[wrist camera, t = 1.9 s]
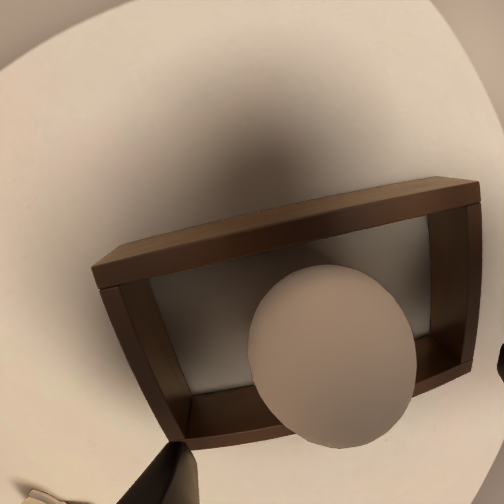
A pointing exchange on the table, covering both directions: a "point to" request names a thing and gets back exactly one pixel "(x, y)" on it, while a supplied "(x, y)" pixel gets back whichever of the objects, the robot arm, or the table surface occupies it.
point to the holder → (275, 237)
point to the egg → (332, 356)
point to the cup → (41, 498)
